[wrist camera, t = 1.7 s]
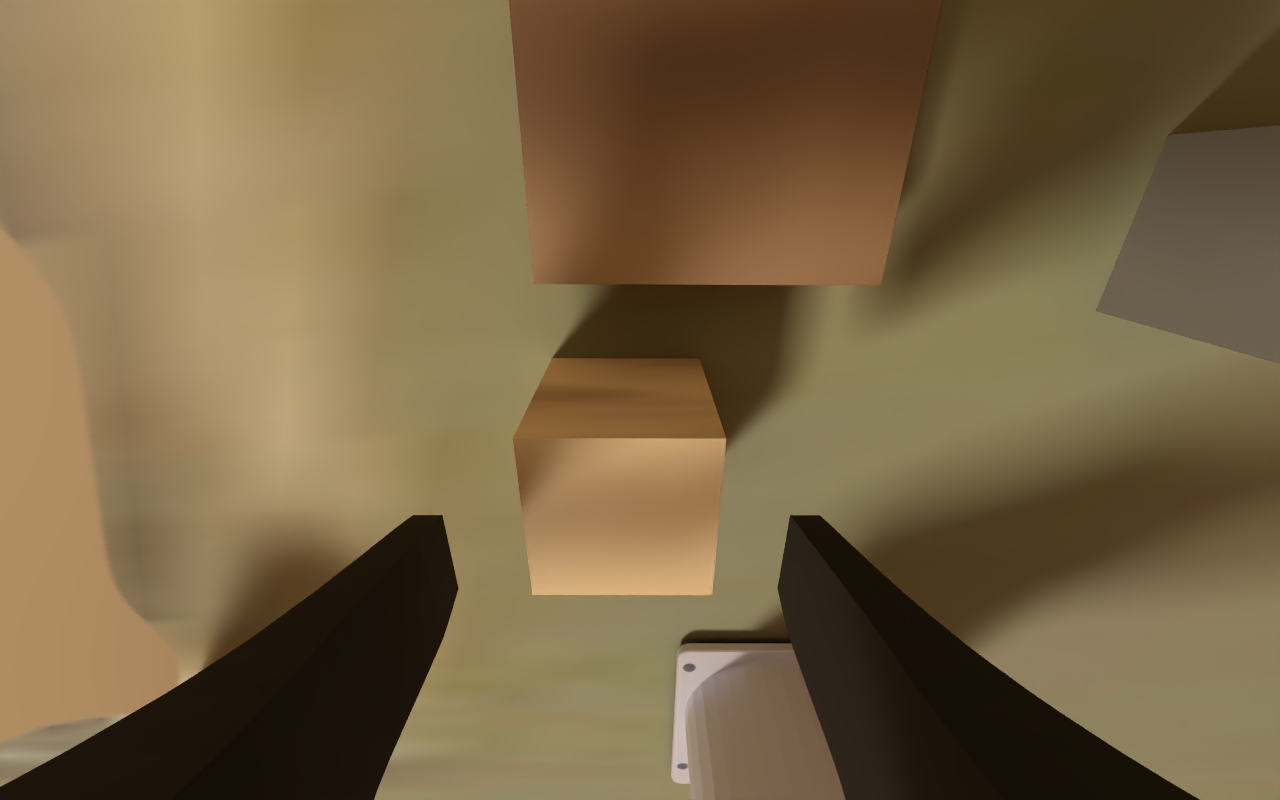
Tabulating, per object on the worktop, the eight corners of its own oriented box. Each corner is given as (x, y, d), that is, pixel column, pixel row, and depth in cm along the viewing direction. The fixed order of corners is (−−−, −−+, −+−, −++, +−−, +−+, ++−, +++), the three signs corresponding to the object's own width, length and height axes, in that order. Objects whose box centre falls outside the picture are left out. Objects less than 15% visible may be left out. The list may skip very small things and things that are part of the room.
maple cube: (691, 480, 16) (711, 595, 12) (562, 480, 16) (532, 594, 12) (699, 357, 15) (726, 438, 10) (552, 357, 14) (513, 438, 10)
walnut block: (832, 264, 14) (880, 285, 11) (555, 262, 14) (533, 283, 11) (897, -114, 10) (990, -220, 8) (529, -118, 10) (489, -225, 8)
